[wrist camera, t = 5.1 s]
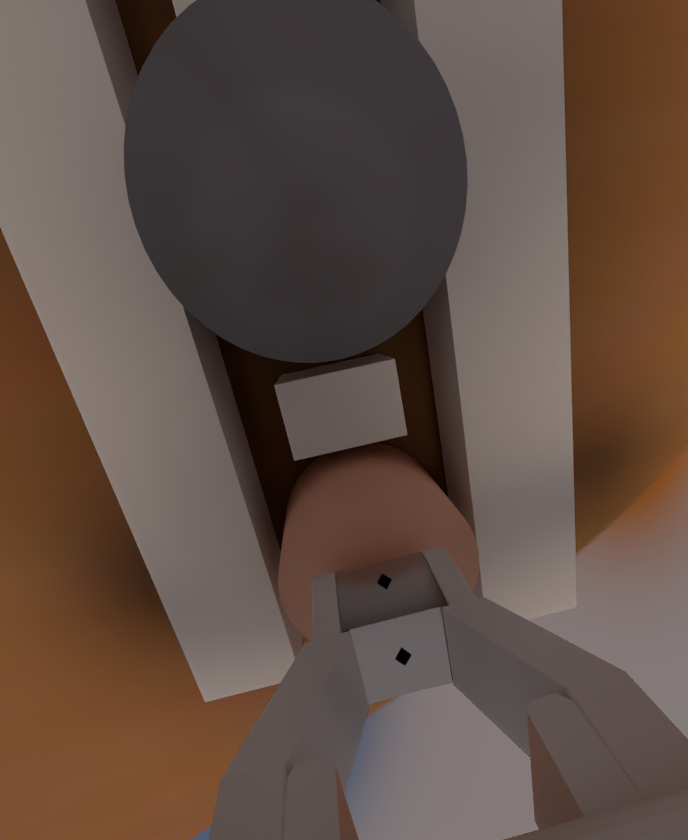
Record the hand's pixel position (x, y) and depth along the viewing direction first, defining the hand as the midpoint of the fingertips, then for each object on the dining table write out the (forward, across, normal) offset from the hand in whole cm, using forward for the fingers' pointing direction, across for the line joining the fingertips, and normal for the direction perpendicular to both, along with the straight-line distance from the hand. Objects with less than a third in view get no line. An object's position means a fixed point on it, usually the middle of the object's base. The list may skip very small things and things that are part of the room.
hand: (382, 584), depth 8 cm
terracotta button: (+4, 0, 0) cm, 4 cm away
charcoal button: (+2, 0, -8) cm, 8 cm away
